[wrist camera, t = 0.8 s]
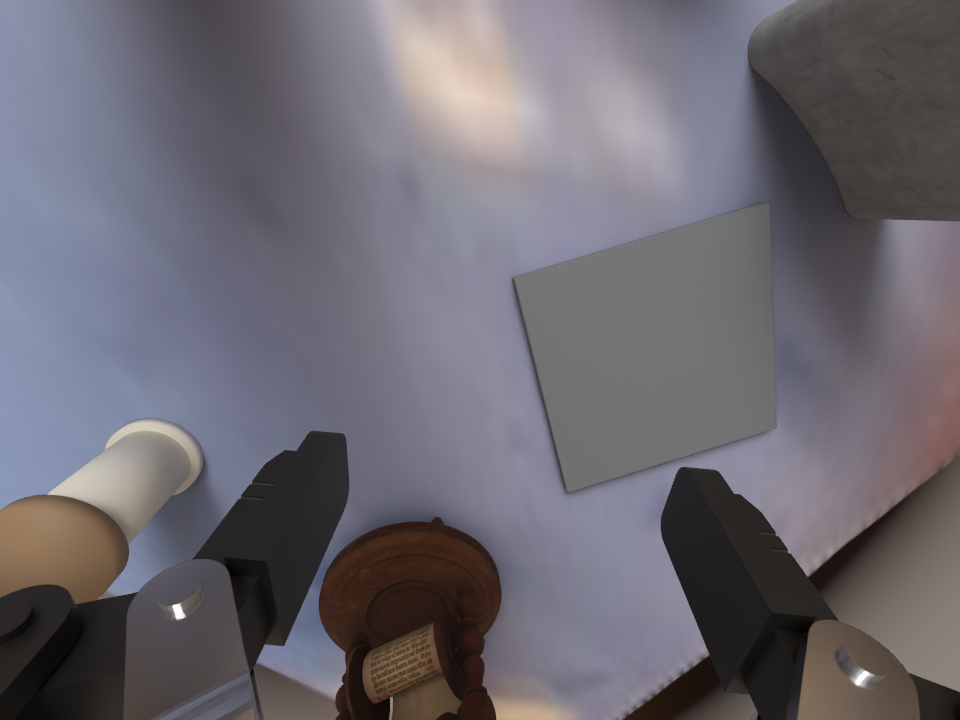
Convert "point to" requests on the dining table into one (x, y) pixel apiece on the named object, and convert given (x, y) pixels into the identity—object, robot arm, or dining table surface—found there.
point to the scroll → (412, 623)
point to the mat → (655, 346)
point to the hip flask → (874, 98)
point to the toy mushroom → (96, 511)
